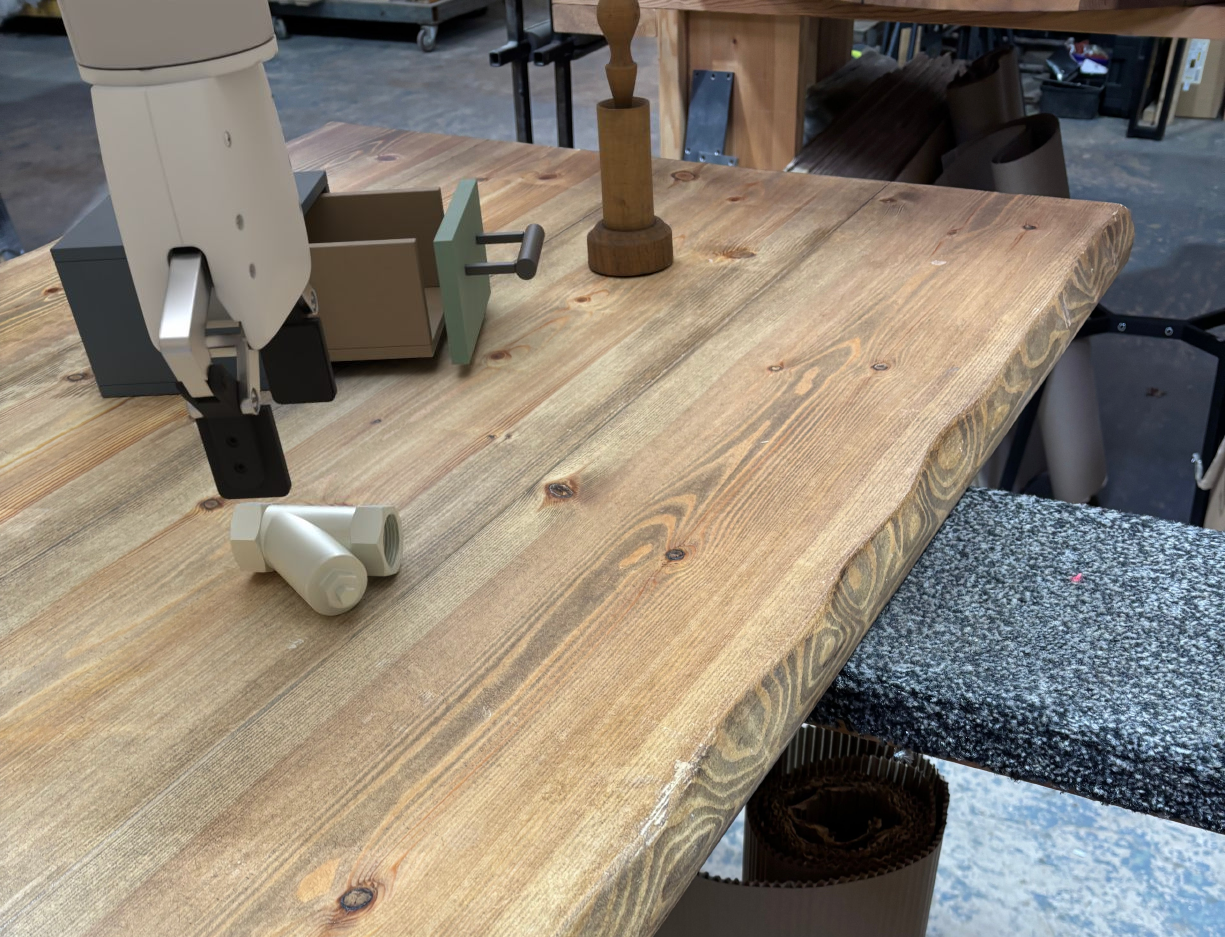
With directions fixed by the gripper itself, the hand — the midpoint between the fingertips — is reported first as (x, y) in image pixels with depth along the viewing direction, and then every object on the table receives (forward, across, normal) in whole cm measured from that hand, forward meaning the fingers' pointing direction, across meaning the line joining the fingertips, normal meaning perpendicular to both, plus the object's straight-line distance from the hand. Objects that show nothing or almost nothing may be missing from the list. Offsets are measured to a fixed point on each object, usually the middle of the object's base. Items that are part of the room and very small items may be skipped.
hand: (283, 445), depth 58 cm
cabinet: (+8, -32, -13) cm, 36 cm away
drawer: (+7, -32, 0) cm, 33 cm away
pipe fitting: (+8, 0, 0) cm, 8 cm away
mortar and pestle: (+8, -46, +15) cm, 49 cm away
